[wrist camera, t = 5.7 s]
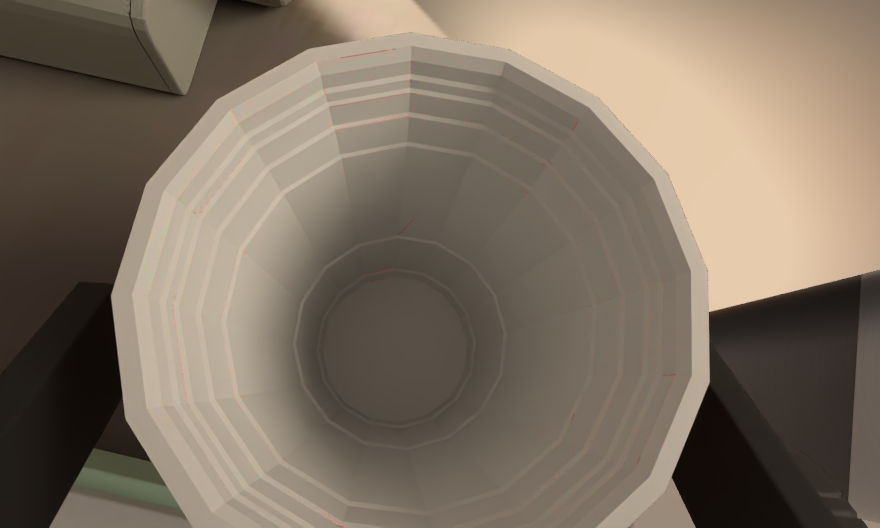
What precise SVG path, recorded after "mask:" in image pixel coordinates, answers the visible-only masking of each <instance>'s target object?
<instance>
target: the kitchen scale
mask: <svg viewBox="0 0 880 528" xmlns="http://www.w3.org/2000/svg"><path fill="white" fill-rule="evenodd" d="M49 528H193V527H192V526H191V524H190V522H189V521H188V519H187V517H186V516H185V514H184V513H183V511H182V509H181V508H180V506H179V505H178V503H177V501H176V500H175V498H174V497H173V495H172V493H171V492H170V490H169V489H168V487H167V485H166V484H165V482H164V480H163V479H162V477H161V476H160V474H159V472H158V471H157V469H156V468H155V466H154V464H153V463H152V462H150V461H145V460H141V459H137V458H133V457H129V456H125V455H121V454H116V453H112V452H108V451H104V450H100V449H96V448H93V450H92V452H91V454H90V456H89V457H88V459H87V461H86V463H85V465H84V466H83V468H82V470H81V472H80V473H79V475H78V477H77V479H76V481H75V482H74V484H73V486H72V488H71V490H70V491H69V493H68V495H67V497H66V499H65V500H64V502H63V504H62V506H61V507H60V509H59V511H58V513H57V515H56V516H55V518H54V520H53V522H52V524H51V525H50V527H49Z"/></svg>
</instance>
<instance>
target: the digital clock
mask: <svg viewBox="0 0 880 528" xmlns="http://www.w3.org/2000/svg"><path fill="white" fill-rule="evenodd" d="M244 1H248V2H253V3H257V4H262V5H266V6H272V7H282V6H285V5H286V4H288V3H290V2H291V1H293V0H244ZM216 3H217V0H0V55H2V56H7V57H11V58H16V59H20V60H25V61H30V62H34V63H39V64H43V65H48V66H52V67H57V68H61V69H66V70H70V71H75V72H79V73H84V74H89V75H93V76H98V77H102V78H107V79H111V80H116V81H120V82H125V83H129V84H134V85H138V86H143V87H148V88H152V89H157V90H161V91H166V92H170V93H175V94H179V95H185V94H186V93H187V92H188V90H189V87H190V84H191V81H192V78H193V75H194V72H195V69H196V65H197V62H198V59H199V56H200V53H201V50H202V47H203V43H204V40H205V37H206V34H207V31H208V28H209V25H210V22H211V19H212V15H213V12H214V9H215V6H216Z"/></svg>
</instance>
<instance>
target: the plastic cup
mask: <svg viewBox="0 0 880 528" xmlns="http://www.w3.org/2000/svg"><path fill="white" fill-rule="evenodd" d="M111 300H112V309H113V317H114V326H115V334H116V343H117V351H118V360H119V368H120V377H121V385H122V394H123V402H124V411H125V419H126V421H127V423H128V424H129V426H130V427H131V429H132V431H133V432H134V434H135V435H136V437H137V439H138V440H139V442H140V443H141V445H142V447H143V448H144V450H145V452H146V453H147V455H148V456H149V458H150V460H151V461H152V463H153V464H154V466H155V468H156V469H157V471H158V472H159V474H160V476H161V477H162V479H163V480H164V482H165V484H166V485H167V487H168V489H169V490H170V492H171V493H172V495H173V497H174V498H175V500H176V501H177V503H178V505H179V506H180V508H181V509H182V511H183V513H184V514H185V516H186V517H187V519H188V521H189V522H190V524H191V526H192V527H193V528H628V527H629V526H630V525H631V524H632V523H633V522H634V521H635V520H636V519H637V518H638V517H639V516H640V515H642V514H643V513H644V512H645V510H647V509H648V508H649V507H650V506H651V505H652V504H653V503H654V502H655V501H656V500H657V499H658V498H659V497H660V496H661V495H662V494H663V493H664V492H665V491H666V489H667V487H668V484H669V482H670V479H671V477H672V474H673V472H674V469H675V467H676V464H677V462H678V459H679V457H680V454H681V452H682V450H683V447H684V445H685V442H686V440H687V437H688V435H689V432H690V430H691V427H692V425H693V422H694V420H695V417H696V415H697V412H698V410H699V407H700V405H701V402H702V400H703V397H704V395H705V392H706V390H707V387H708V385H709V382H710V368H709V311H708V270H707V268H706V265H705V263H704V261H703V258H702V256H701V253H700V251H699V248H698V246H697V243H696V241H695V238H694V236H693V234H692V231H691V229H690V226H689V224H688V221H687V219H686V217H685V214H684V212H683V209H682V207H681V204H680V202H679V200H678V197H677V195H676V192H675V190H674V187H673V185H672V182H671V180H670V178H669V175H668V173H667V172H666V171H665V170H664V169H663V168H662V166H661V165H660V164H659V163H658V162H657V161H656V160H655V159H654V158H653V157H652V155H651V154H650V153H649V152H648V151H647V150H646V149H645V148H644V147H643V146H642V144H641V143H640V142H639V141H638V140H637V139H636V138H635V137H634V136H633V135H632V134H631V132H630V131H629V130H628V129H627V128H626V127H625V126H624V125H623V124H622V123H621V122H620V121H619V119H618V118H617V117H616V116H615V115H614V114H613V113H612V112H611V110H610V109H609V108H608V107H607V106H606V105H605V104H604V103H603V102H602V101H601V100H600V98H599V97H597V96H595V95H593V94H591V93H589V92H587V91H586V90H584V89H582V88H580V87H578V86H576V85H575V84H573V83H571V82H569V81H567V80H565V79H564V78H562V77H560V76H558V75H556V74H554V73H553V72H551V71H549V70H547V69H545V68H543V67H541V66H540V65H538V64H536V63H534V62H532V61H530V60H528V59H527V58H525V57H523V56H521V55H519V54H517V53H516V52H514V51H512V50H510V49H505V48H499V47H493V46H487V45H481V44H476V43H470V42H464V41H458V40H452V39H447V38H441V37H435V36H429V35H424V34H418V33H412V32H409V33H403V34H397V35H391V36H384V37H378V38H372V39H366V40H360V41H354V42H347V43H341V44H335V45H329V46H323V47H316V48H310V49H308V50H306V51H304V52H302V53H301V54H299V55H297V56H295V57H293V58H292V59H290V60H288V61H286V62H284V63H283V64H281V65H279V66H277V67H275V68H273V69H272V70H270V71H268V72H266V73H264V74H263V75H261V76H259V77H257V78H255V79H254V80H252V81H250V82H248V83H246V84H245V85H243V86H241V87H239V88H237V89H235V90H234V91H232V92H230V93H228V94H226V95H225V96H223V97H221V98H219V99H217V100H216V101H215V103H214V104H213V105H212V106H211V107H210V109H209V110H208V111H207V112H206V113H205V115H204V116H203V117H202V118H201V119H200V121H199V122H198V123H197V124H196V125H195V126H194V128H193V129H192V130H191V131H190V132H189V134H188V135H187V136H186V137H185V138H184V140H183V141H182V142H181V143H180V144H179V146H178V147H177V148H176V149H175V150H174V151H173V153H172V154H171V155H170V156H169V157H168V159H167V160H166V161H165V162H164V163H163V165H162V166H161V167H160V168H159V169H158V171H157V172H156V173H155V174H154V175H153V176H152V178H151V179H150V180H149V181H148V182H147V184H146V186H145V189H144V192H143V195H142V198H141V202H140V205H139V208H138V211H137V214H136V218H135V221H134V224H133V227H132V230H131V234H130V237H129V240H128V243H127V246H126V249H125V253H124V256H123V259H122V262H121V265H120V269H119V272H118V275H117V278H116V281H115V285H114V288H113V291H112V294H111Z"/></svg>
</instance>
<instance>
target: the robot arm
mask: <svg viewBox="0 0 880 528" xmlns="http://www.w3.org/2000/svg"><path fill="white" fill-rule="evenodd" d="M114 285H115V284H105V283H90V282H79V283H78V284H77V285H76V286H75V288H74V289H73V290H72V291H71V292H70V293H69V295H68V296H67V297H66V298H65V299H64V301H63V302H62V303H61V304H60V305H59V306H58V308H57V309H56V310H55V311H54V312H53V314H52V315H51V316H50V317H49V318H48V319H47V321H46V322H45V323H44V324H43V325H42V327H41V328H40V329H39V330H38V331H37V332H36V334H35V335H34V336H33V337H32V338H31V340H30V341H29V342H28V343H27V344H26V346H25V347H24V348H23V349H22V350H21V351H20V353H19V354H18V355H17V356H16V357H15V359H14V360H13V361H12V362H11V363H10V364H9V366H8V367H7V368H6V369H5V370H4V372H3V373H2V374H1V375H0V528H49V527H50V525H51V524H52V522H53V520H54V518H55V516H56V515H57V513H58V511H59V509H60V507H61V506H62V504H63V502H64V500H65V499H66V497H67V495H68V493H69V491H70V490H71V488H72V486H73V484H74V482H75V481H76V479H77V477H78V475H79V473H80V472H81V470H82V468H83V466H84V465H85V463H86V461H87V459H88V457H89V456H90V454H91V452H92V450H93V448H94V447H95V445H96V443H97V441H98V440H99V438H100V436H101V434H102V432H103V431H104V429H105V427H106V425H107V423H108V422H109V420H110V418H111V416H112V414H113V413H114V411H115V409H116V407H117V406H118V404H119V402H120V400H121V398H122V397H123V394H122V385H121V377H120V368H119V360H118V351H117V343H116V334H115V326H114V317H113V309H112V300H111V294H112V291H113V288H114ZM709 368H710V382H709V385H708V387H707V390H706V392H705V395H704V397H703V400H702V402H701V405H700V407H699V410H698V412H697V415H696V417H695V420H694V422H693V425H692V427H691V430H690V432H689V435H688V437H687V440H686V442H685V445H684V447H683V450H682V452H681V454H680V457H679V459H678V462H677V464H676V467H675V469H674V472H673V474H672V479H673V481H674V483H675V485H676V487H677V489H678V491H679V494H680V495H681V498H682V500H683V502H684V504H685V506H686V508H687V510H688V512H689V514H690V516H691V518H692V521H693V523H694V525H695V527H696V528H868V527H867V526H866V524H865V523H864V522H863V521H862V519H859V518H858V517H857V513H856V511H855V510H854V509H853V507H852V506H851V505H850V503H849V502H848V501H847V499H843V494H842V493H841V491H840V490H839V489H838V487H837V486H836V485H835V484H834V482H833V481H832V480H831V478H830V477H829V476H828V474H827V473H826V472H825V471H824V470H823V469H822V468H821V467H820V466H818V465H817V464H816V463H815V462H814V461H812V460H811V459H810V458H809V457H808V456H807V455H805V454H804V453H803V452H802V451H788V450H787V449H786V447H785V446H784V444H783V443H782V442H781V440H780V439H779V437H778V436H777V435H776V433H775V432H774V430H773V429H772V428H771V426H770V425H769V424H768V422H767V421H766V419H765V418H764V417H763V415H762V414H761V412H760V411H759V410H758V408H757V407H756V405H755V404H754V403H753V401H752V400H751V398H750V397H749V396H748V394H747V393H746V391H745V390H744V389H743V387H742V386H741V384H740V383H739V382H738V380H737V379H736V377H735V376H734V375H733V373H732V372H731V370H730V369H729V368H728V366H727V365H726V364H725V362H724V361H723V359H722V358H721V357H720V355H719V354H718V352H717V351H716V350H715V348H714V347H713V345H712V344H711V343H710V341H709Z"/></svg>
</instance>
